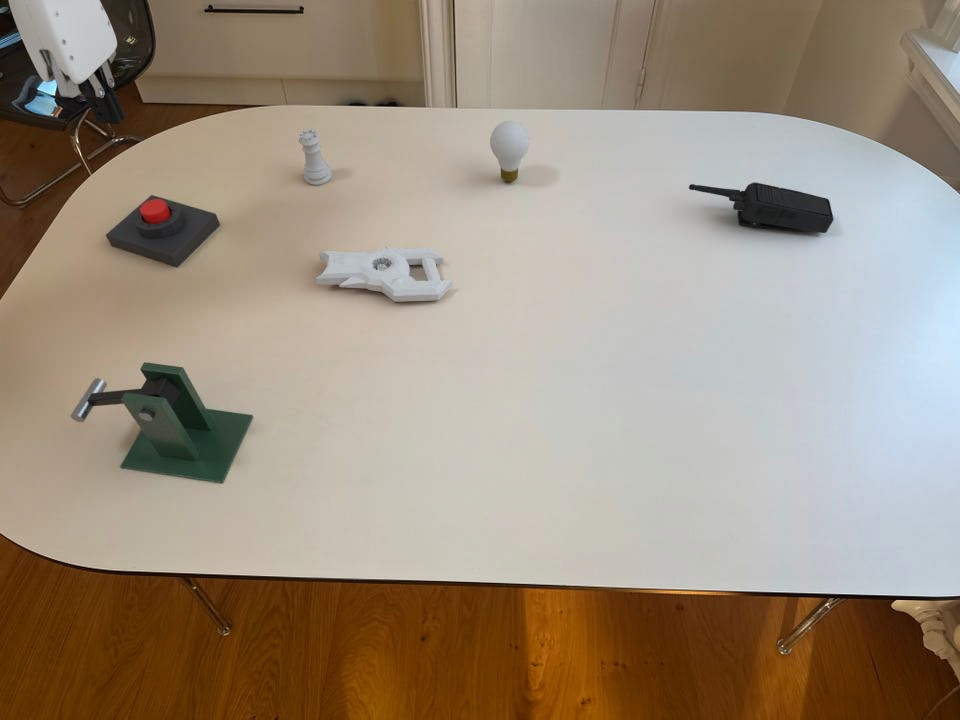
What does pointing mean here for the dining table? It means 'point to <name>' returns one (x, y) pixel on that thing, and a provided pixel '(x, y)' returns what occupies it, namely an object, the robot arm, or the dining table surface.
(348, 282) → the gun
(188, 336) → the dining table surface
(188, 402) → the bracket
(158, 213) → the stop button
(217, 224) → the button box
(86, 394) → the switch lever
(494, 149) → the light bulb
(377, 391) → the dining table surface
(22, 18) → the robot arm
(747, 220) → the walkie-talkie
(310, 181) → the rook chess piece
